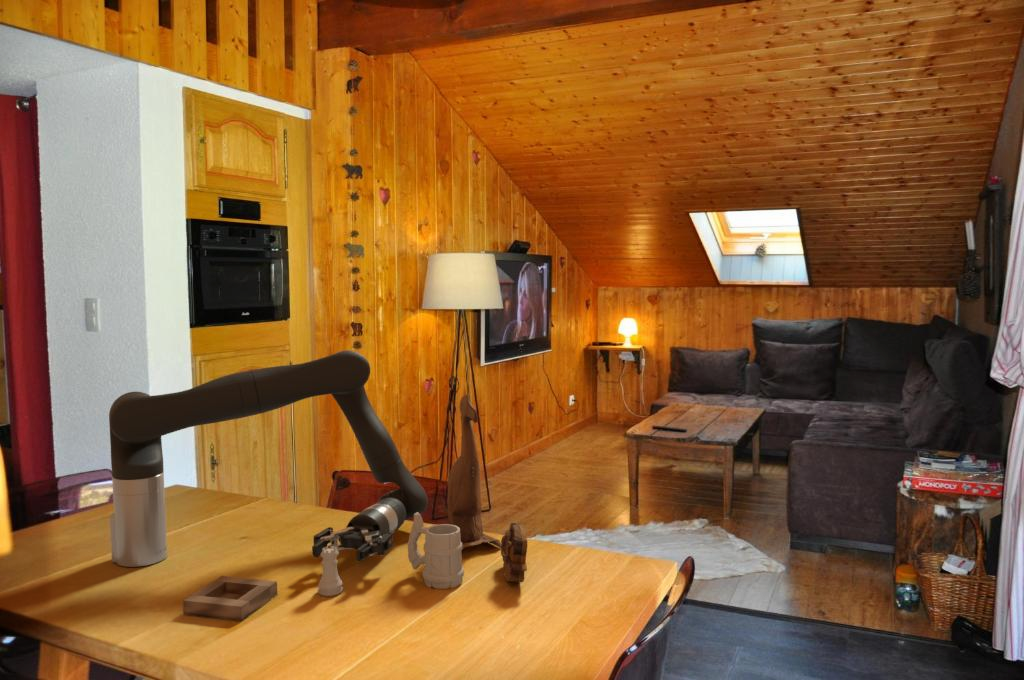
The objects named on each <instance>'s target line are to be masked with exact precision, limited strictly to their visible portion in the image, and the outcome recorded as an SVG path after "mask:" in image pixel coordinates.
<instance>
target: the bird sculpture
mask: <svg viewBox="0 0 1024 680" xmlns="http://www.w3.org/2000/svg"><path fill="white" fill-rule="evenodd" d="M472 403H473V402H472V400H471V397H470V396H469V394H464V395H463V396H462V397H461V400H460V402H459V411H460V422H461V425H460V426H461V437H460V438H461V443H460V444H461V445H460V448H461V449H460V456H459V457H458V458H457V459H456V460H455V462H454V463H453V465H452V466H451V468H450V471H449V474H448V477H447V478H448V481H447V517H448V518H447V520H448V522H447V524H450V525H455V526H457V527H459V528H460V537H461V542H462V550H463V549H465V548H467V547H471V546H476V545H481V544H482V543H488V544H489V543H490V544H491V545H493V546H496V547H498V548H499V549H501V540H500V539H498V538H495V537H493V536H491V535H488V534H486V533H484V528H483V527H484V526H483V521H482V513H481V512H482V508H483V507H482V506H483V505H482V475H481V474H482V473H481V465H480V460H479V459H480V458H479V453H478V448H477V441H476V436H475V430H474V426H473V423H472V421H473V422H474V423H475V424H476V423H478V422H479V420H478V419H479V417H478V412H477V410H476V409H475V407H474V405H473V404H472Z"/></svg>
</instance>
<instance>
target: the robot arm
mask: <svg viewBox="0 0 1024 680" xmlns="http://www.w3.org/2000/svg"><path fill="white" fill-rule="evenodd" d="M370 375H371V366H370V363H369V361H368V359H367V358H366V357H365V356H364V355H363V354H361V353H360V352H356V351H354V350H349V349H347V350H342V351H338V352H335V353H333V354H330V355H327V356H324V357H320V358H317V359H314V360H311V361H307V362H302V363H297V364H286V365H277V366H269V367H263V368H256V369H250V370H244V371H240V372H234V373H231V374H227V375H224V376H219V377H218V378H217V377H216V378H214V379H212V380H210V381H209V380H208V381H207V382H203V383H202V384H200V385H197V386H195V387H192V388H189V389H185V390H181V391H177V392H170V393H164V394H157V395H150V394H148V393H146V392H142V391H129V392H125V393H124V394H122V395H120V396H119V397H117V398H116V399H115V400H114V401H113V402H112V405H111V407H110V409H109V413H108V417H109V418H108V423H109V442H110V460H111V463H110V464H111V478H112V479H111V481H112V494H113V495H112V497H113V499H112V501H113V513H111V514H110V516H109V530H110V547H111V548H110V549H111V550H110V551H111V562H112V563H116V564H117V565H118V566H121V567H126V568H135V567H145V566H149V565H153V564H157V563H159V562H162V561H163V560H165V559H166V558H167V557H168V543H167V542H168V541H167V537H168V536H167V519H166V518H167V517H166V496H165V494H166V493H165V475H164V474H165V473H164V471H165V470H164V456H163V444H162V437H163V436H165V435H170V434H172V433H175V432H178V431H182V430H185V429H189V428H192V427H196V426H203V425H210V424H217V423H222V422H228V421H231V420H232V421H233V420H237V419H242V418H243V419H244V418H247V417H253V416H256V415H262V414H264V413H267V412H271V411H274V410H277V409H281V408H284V407H286V406H289V405H292V404H295V403H297V402H299V401H303V400H306V399H309V398H314V397H318V396H325V395H331V396H332V397H333V399H334V400H335V402H336V403H337V405H338V406H339V409H341V412H342V413H343V415H344V416H345V418H346V420H347V421H348V424H349V425H350V428H351V429H352V433H353V434H354V437H355V439H356V440H357V442H358V445H359V446H360V447H359V448H360V449H361V451H362V454H363V456H364V458H365V460H366V462H367V465H368V468H369V469H370V471H371V474H372V476H373V478H374V480H375V482H377V483H378V484H386V483H394V484H395V485H396V486H398V488H395V489H394V490H390V491H389V492H386V493H385V494H383V495H381V496H380V497H379V498H378V499H377V500H378V501H377V502H375V503H374V504H373V505H370V506H368V507H366V508H365V509H363V510H362V511H360V512H359V513H357V514H356V515H354V516H353V517H352V518H351V519H350V520H349V521H348V523H347V524H346V525H347V526H346V527H345V528H344V529H340V530H336V531H334V528H333V527H330V526H329V527H327V528H325V529H322V531H320V532H318V533H316V534H315V535H313V545H312V547H311V553H312V557H313V558H320V557H321V556H320V554H321V552H322V548H325V547H327V546H328V549H330V546H333V549H334V547H337V551H338V552H339V551H343V550H356V551H355V560H356V562H362V561H363V560H365V559H368V557H371V556H375V554H377V555H378V556H384V555H385V554H387V552H389V550H390V549H392V547H393V546H394V536H393V535H394V533H395V532H396V531H397V530H398V529H400V528H401V527H402V526H403V524H404V523H405V521H407V520H410V519H412V518H414V514H415V513H417V512H418V513H419V514H420V515H422V514H423V513H425V512H426V511H427V509H428V506H429V498H428V495H427V492H426V490H425V488H424V487H423V486H422V485H421V483H420V482H419V481H418V480H417V479H416V478H415V476H414V475H413V474H412V473H411V471H410V470H409V469H408V468H407V466H406V465H405V464H404V462H403V459H402V457H401V455H400V452H399V450H398V449H397V446H396V443H395V441H394V440H393V437H392V436H391V435H390V433H389V431H388V430H387V428H386V426H385V425H384V424H383V422H382V421H381V419H380V418H379V416H378V415H377V413H376V411H375V410H374V408H373V406H372V404H371V401H370V400H369V397H368V394H367V390H366V389H365V385H366V384H367V382H368V380H369V378H370ZM338 542H339V543H338ZM328 544H330V545H328ZM339 544H340V545H339Z"/></svg>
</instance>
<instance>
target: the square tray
mask: <svg viewBox="0 0 1024 680" xmlns="http://www.w3.org/2000/svg"><path fill="white" fill-rule="evenodd" d="M276 595H277V596H278V581H275V580H268V579H267V580H265V579H257V578H247V577H238V576H237V577H236V576H228V575H226V576H225V575H220V576H219V577H218V578H216V579H215V580H213V581H211V582H210V583H208V584H207V585H205V586H204V587H202V588H200V589H199V590H197V591H195V592H193V593H192V594H190V595H189V596H187V597H186V598H184V599H182V607H183V608H182V609H183V611H182V612H183V616H193V617H201V618H207V619H208V618H210V619H216V620H217V619H218V620H226V621H234V622H235V621H236V622H243V621H245V620H246V619H248V618H249V617H250V616H251V615H253V614H255V612H258V610H260V609H261V608H262V607H264V606H265V605H266V604H268V603H269V602H270V601H271V599H272V598H273V599H275V598H276V597H277V596H276ZM275 596H276V597H275ZM273 599H272V600H273ZM268 601H269V602H268ZM267 602H268V603H267ZM263 605H264V606H263Z"/></svg>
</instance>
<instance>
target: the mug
mask: <svg viewBox="0 0 1024 680" xmlns="http://www.w3.org/2000/svg"><path fill="white" fill-rule="evenodd" d="M422 534H423V535H424V536H425V537H424V538H425V539H424V543H423V552H424V555H422V554H421V552H420V551H419V549H418V540H419V539H420V537H421V535H422ZM462 550H463V549H462V542H461V537H460V528H459V527H457V526H455V525H450V524H448V523H445V524H444V523H441V524H433V525H430V526H428V527H427V526H424V520H423V517H422V514H419V513H418V512H417V513H415V514H414V517H413V522H412V526H411V530H410V532H409V537H408V542H407V557H408V560H409V563H410V564H411V566H412V567H411V568H412V569H413V570H417V569H419V568H420V567H421V565H424V568H423V569H422V578H423V580H424V581H423V582H424V585H425V586H426V587H429V588H434V589H441V590H443V589H444V590H445V589H453V588H456V587H458V586H460V585H461V584H462V583H463V577H464V576H465V568H464V567H463V560H462V557H463V556H462Z"/></svg>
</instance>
